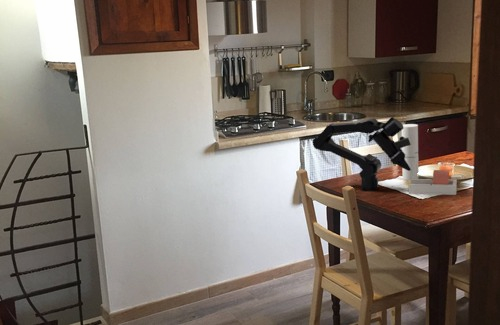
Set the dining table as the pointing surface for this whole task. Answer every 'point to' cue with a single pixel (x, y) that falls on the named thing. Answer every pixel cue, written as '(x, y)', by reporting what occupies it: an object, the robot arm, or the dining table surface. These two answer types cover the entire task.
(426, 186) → the plug guide
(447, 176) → the plug
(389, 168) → the dining table surface
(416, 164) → the cylindrical container
